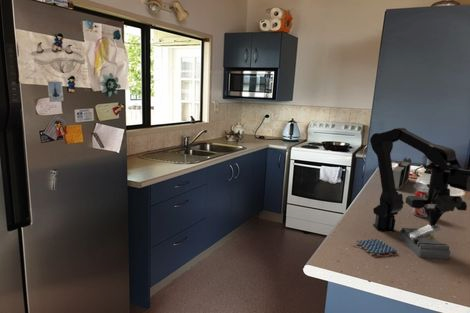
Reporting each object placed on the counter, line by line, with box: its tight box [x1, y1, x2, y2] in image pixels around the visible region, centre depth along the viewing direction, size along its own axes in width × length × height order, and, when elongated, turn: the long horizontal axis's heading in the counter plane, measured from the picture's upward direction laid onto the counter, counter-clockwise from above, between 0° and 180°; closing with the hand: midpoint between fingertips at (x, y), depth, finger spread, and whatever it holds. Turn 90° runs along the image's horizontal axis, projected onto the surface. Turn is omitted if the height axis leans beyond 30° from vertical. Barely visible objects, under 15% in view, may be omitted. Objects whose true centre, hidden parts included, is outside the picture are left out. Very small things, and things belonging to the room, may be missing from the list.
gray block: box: [407, 223, 441, 240], centre depth 125 cm, size 10×4×1 cm, turn 88°
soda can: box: [412, 188, 432, 218], centre depth 159 cm, size 7×7×12 cm
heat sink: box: [398, 227, 451, 260], centre depth 126 cm, size 10×16×5 cm, turn 178°
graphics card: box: [392, 157, 412, 191], centre depth 214 cm, size 33×5×14 cm, turn 144°
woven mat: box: [355, 238, 399, 258], centre depth 123 cm, size 10×11×2 cm
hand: (432, 225), depth 125 cm, fingers closed
